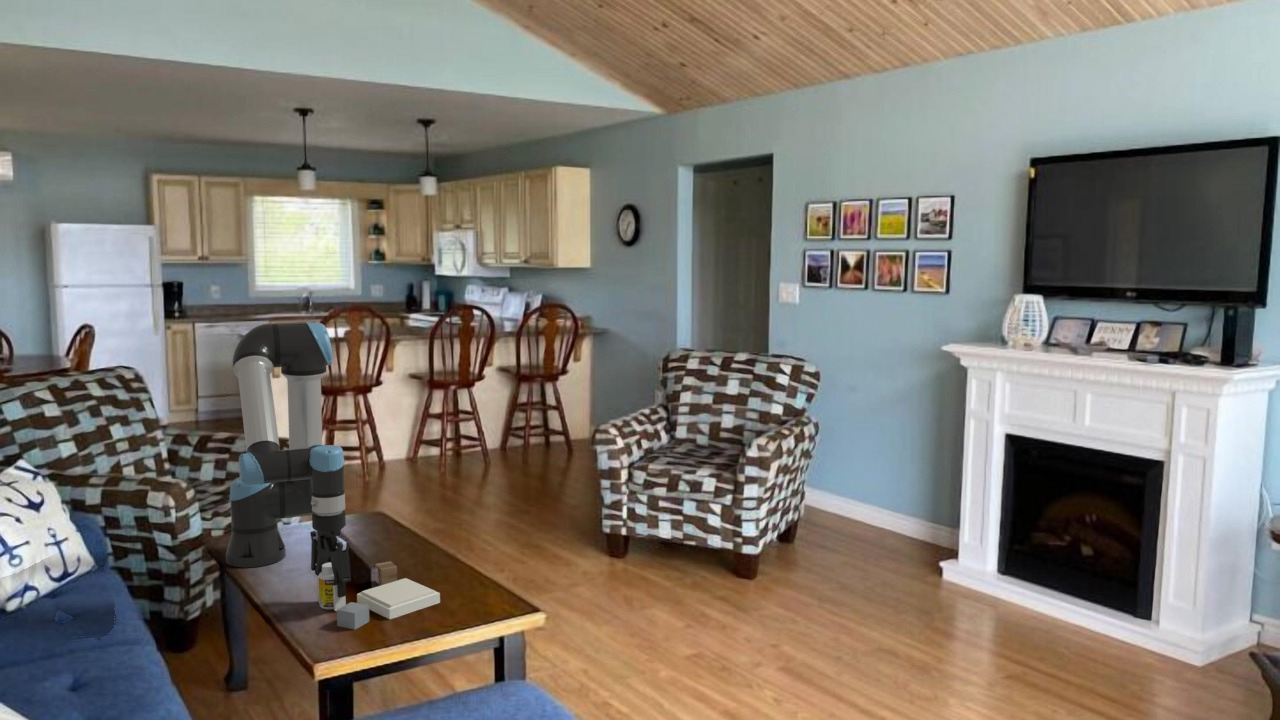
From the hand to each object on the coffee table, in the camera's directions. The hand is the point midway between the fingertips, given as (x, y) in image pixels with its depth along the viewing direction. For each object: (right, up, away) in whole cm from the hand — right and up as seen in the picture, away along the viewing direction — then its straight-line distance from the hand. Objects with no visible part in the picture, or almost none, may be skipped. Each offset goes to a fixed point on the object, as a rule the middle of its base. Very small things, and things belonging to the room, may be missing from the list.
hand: (331, 604), depth 225 cm
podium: (+15, 0, +2) cm, 16 cm away
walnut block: (+9, +1, +15) cm, 17 cm away
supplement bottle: (0, 0, 0) cm, 1 cm away
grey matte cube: (+8, -2, -10) cm, 13 cm away
